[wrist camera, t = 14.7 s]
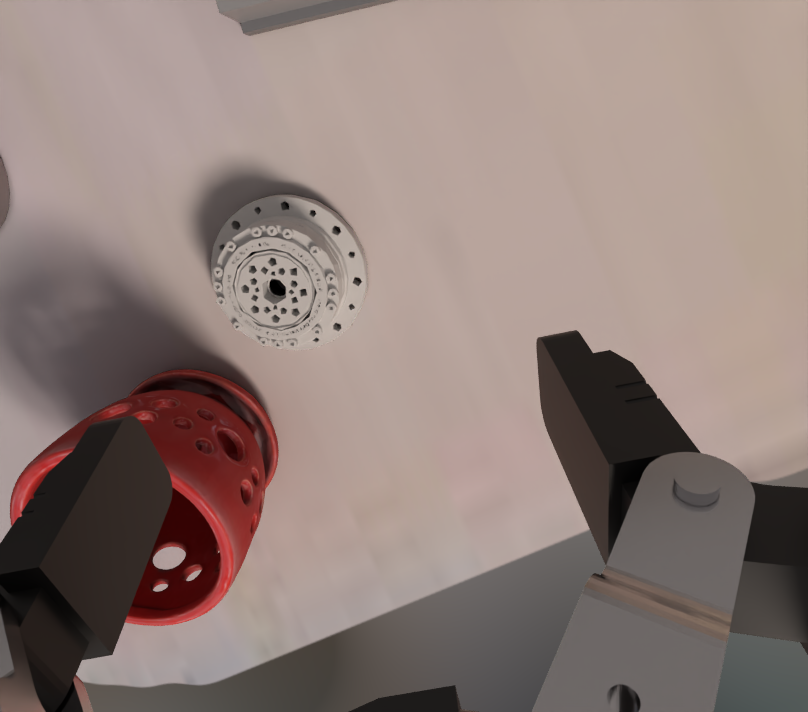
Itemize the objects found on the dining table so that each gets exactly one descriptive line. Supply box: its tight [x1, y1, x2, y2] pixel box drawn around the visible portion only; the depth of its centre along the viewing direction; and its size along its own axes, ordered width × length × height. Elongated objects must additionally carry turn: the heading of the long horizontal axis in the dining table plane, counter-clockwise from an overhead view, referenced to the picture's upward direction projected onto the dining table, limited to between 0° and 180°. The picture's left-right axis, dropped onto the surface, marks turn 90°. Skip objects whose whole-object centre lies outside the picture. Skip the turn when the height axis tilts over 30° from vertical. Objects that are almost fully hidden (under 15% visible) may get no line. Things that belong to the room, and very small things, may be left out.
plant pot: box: [10, 369, 278, 626], centre depth 37 cm, size 13×13×12 cm
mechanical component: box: [211, 195, 368, 351], centre depth 35 cm, size 10×4×10 cm
